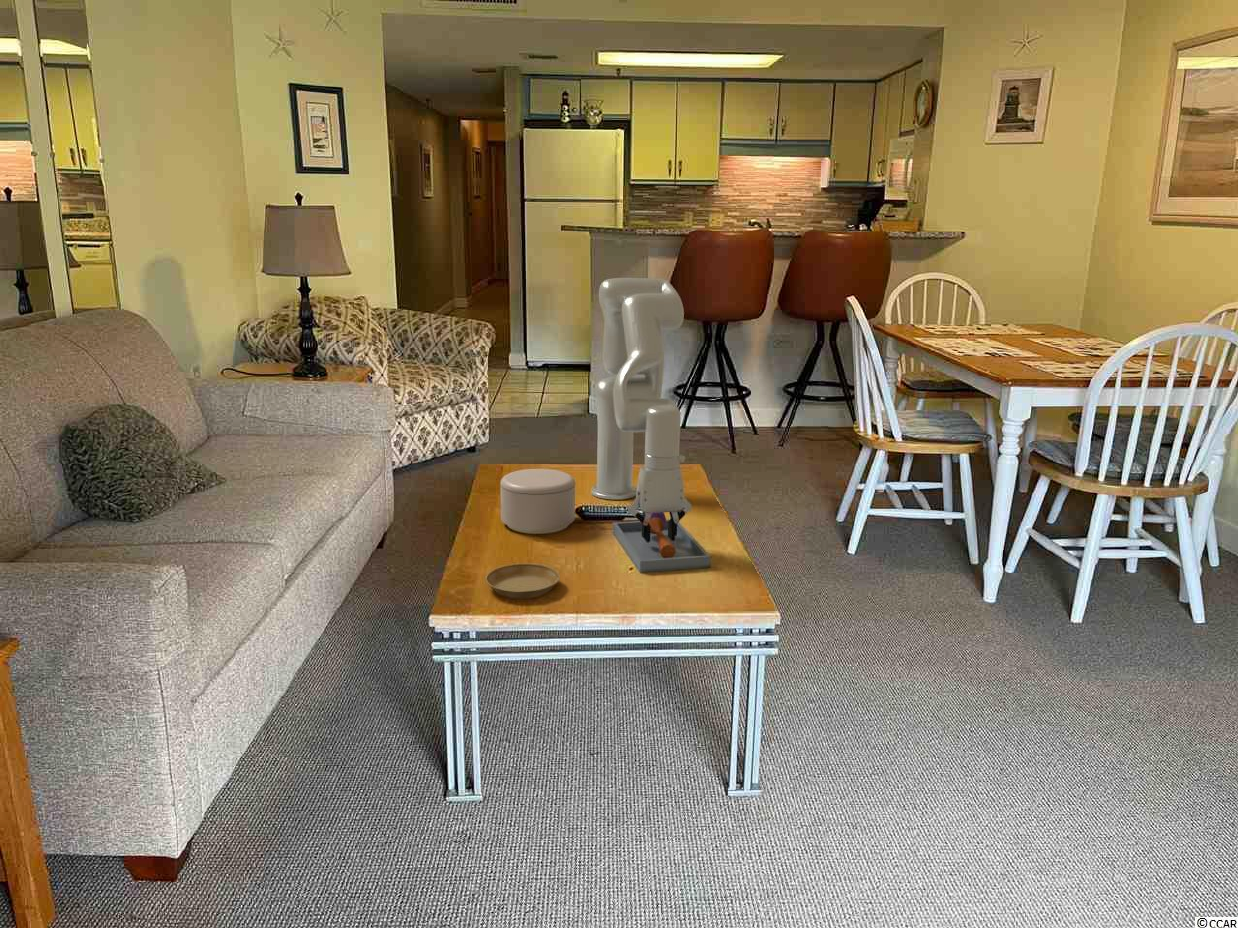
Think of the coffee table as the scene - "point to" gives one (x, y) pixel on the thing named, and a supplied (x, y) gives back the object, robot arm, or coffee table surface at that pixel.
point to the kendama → (661, 534)
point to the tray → (649, 552)
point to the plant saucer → (522, 580)
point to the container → (537, 500)
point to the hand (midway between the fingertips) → (659, 538)
